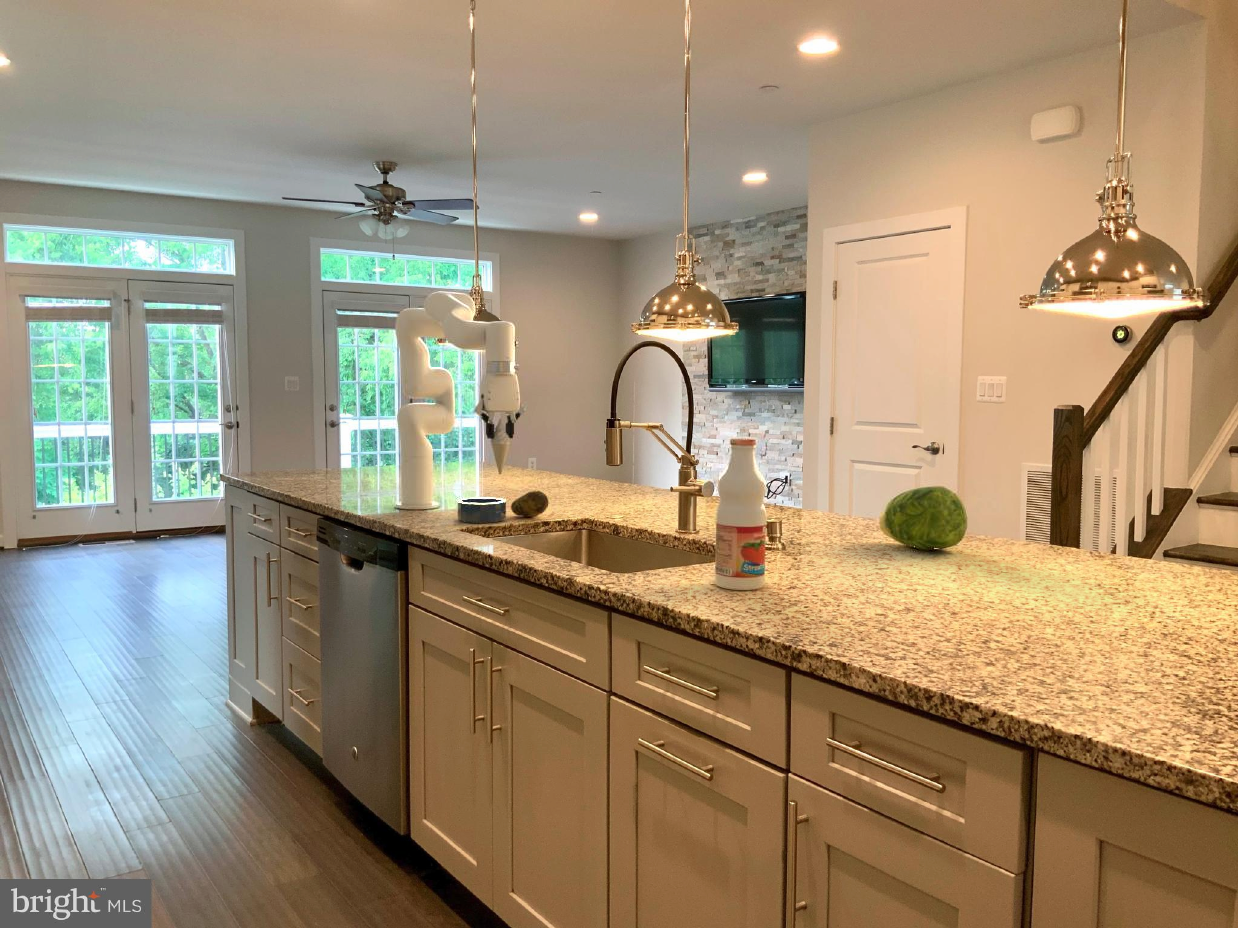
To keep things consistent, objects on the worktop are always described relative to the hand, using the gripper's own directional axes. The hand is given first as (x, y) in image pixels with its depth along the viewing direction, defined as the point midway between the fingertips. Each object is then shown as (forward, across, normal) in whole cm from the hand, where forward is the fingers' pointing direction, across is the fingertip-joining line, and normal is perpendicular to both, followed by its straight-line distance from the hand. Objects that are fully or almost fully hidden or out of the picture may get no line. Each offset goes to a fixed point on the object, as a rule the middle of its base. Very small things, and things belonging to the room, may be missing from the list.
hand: (500, 437), depth 245 cm
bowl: (+24, 0, -12) cm, 27 cm away
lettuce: (+24, -73, +78) cm, 110 cm away
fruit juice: (+24, -8, +89) cm, 93 cm away
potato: (+24, -14, -10) cm, 29 cm away
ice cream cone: (+10, 0, 0) cm, 10 cm away
